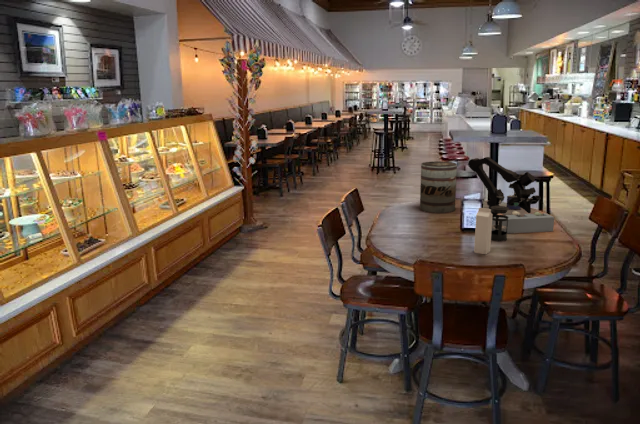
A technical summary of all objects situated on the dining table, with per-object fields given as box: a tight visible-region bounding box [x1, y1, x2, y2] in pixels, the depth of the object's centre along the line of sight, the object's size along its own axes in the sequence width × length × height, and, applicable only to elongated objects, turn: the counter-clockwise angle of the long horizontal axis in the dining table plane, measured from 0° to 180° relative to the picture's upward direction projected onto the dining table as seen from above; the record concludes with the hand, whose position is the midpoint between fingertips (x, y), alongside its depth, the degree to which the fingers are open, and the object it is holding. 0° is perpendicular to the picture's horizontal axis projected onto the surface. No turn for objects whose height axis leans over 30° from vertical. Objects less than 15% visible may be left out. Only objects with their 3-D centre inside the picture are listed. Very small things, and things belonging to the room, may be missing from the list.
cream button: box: [511, 210, 521, 217], centre depth 292 cm, size 5×4×4 cm
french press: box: [491, 195, 509, 242], centre depth 271 cm, size 12×9×23 cm
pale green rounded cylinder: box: [533, 211, 542, 216], centre depth 290 cm, size 5×4×4 cm
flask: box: [506, 192, 522, 211], centre depth 333 cm, size 9×3×11 cm, turn 88°
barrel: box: [419, 160, 458, 215], centre depth 335 cm, size 22×22×30 cm
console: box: [492, 212, 555, 235], centre depth 287 cm, size 9×32×8 cm, turn 96°
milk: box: [473, 207, 493, 255], centre depth 250 cm, size 6×6×22 cm
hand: (529, 212), depth 299 cm, fingers closed
